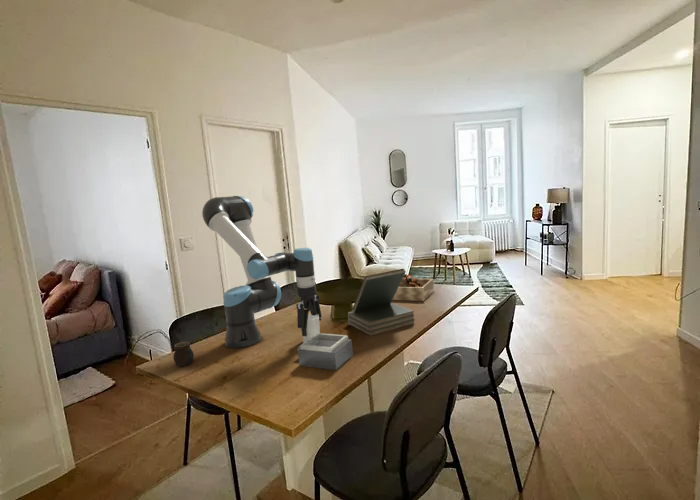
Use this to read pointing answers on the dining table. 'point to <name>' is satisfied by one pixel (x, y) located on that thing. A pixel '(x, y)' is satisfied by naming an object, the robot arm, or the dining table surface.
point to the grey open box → (325, 351)
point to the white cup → (313, 325)
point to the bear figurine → (411, 281)
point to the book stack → (379, 304)
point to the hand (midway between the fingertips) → (311, 339)
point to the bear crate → (414, 290)
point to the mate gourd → (183, 354)
